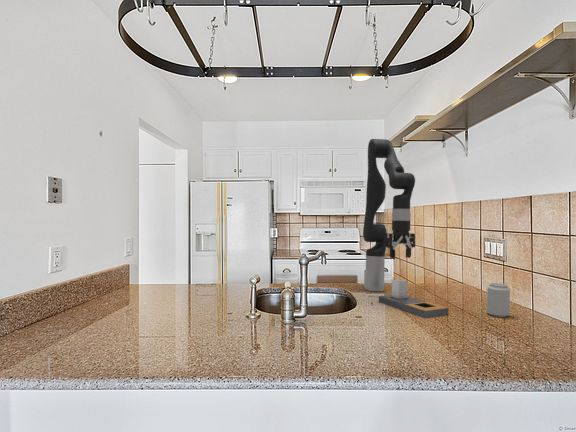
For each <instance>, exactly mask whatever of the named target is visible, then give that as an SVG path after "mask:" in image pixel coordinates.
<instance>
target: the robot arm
mask: <svg viewBox="0 0 576 432" xmlns="http://www.w3.org/2000/svg"><path fill="white" fill-rule="evenodd" d="M377 159H385V161H384V163H383V167H384V171H385V172H386V174H387V175H388V183H389V184H388V185H389V187H390V188H392V189H393V190H403V192H402V193H401V194H396V195H394V196H393V198H392V213H391V230H392V233H388V230H387V227H386V225H385V224H383V223H374V220H375V216H376V213H377V212H378V210H379V209H380V208H381V206H382V204H383V203H384V201H385V198H386V190H387V189H386V188H387V187H386V186H387V184H386V182H385V180H384V178H383V176H382V174H381V172H380V171H379V168H378V164H377ZM415 184H416V177H415V175H414V174H413V173H411V172H405V168H404V167H403V165H402V164H401V162H400V161H399V159H398V157H397V154H396V151H395V148H394V145H393V143H392V142H391V140H390V139H386V138H385V139H384V138H382V139H381V138H371V139H370V140H369V141H368V145H367V181H366V191H365V192H366V194H365V198H366V199H365V202H366V203H365V215H364V220H363V229H362V236H363V237H362V238H363V240H364V241H365V242H366V243H375V244H374V245H373V246H371V247H370V248H367V249H366V251H365V269H364V274H363V275H364V282H363V283H364V284H363V288H364V290H365V291H369V292H370V291H371V292H384V291H385V256H386V250H387V249H386V248H388V249H389V257H390V259H395V258H396V248H397V246H399V244H403V246H404V247H405V258H408V259H409V258H411V256H412V249H413V248H415V247H416V233H412V232H411V233H410V231H411V216H412V215H411V214H412V213H411V199H412V195H413V191H414V188H415Z"/></svg>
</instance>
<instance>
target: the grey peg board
mask: <svg viewBox="0 0 576 432" xmlns="http://www.w3.org/2000/svg"><path fill="white" fill-rule="evenodd" d="M378 302H379V303H381V304H383V305H386V306H389V307H392V308H394V309H395V308H396V309H399V310H401V311H403V312H406V313H407V312H408V313H411V314H413V315H416V316H418V317H422V318H425V319H426V318H427V319H428V318H433V317H434V318H435V317H440V316H441V317H442V316H446V315H447V316H448V315H449V307H448V306H444V305H441V304H438V303H434V302H430V301H425V300H422V299H418V298H416V297H411V296H408V295H407V299H406V300H397V299H393V298H392V294H389V295H388V294H387V295H386V294H385V295H379V296H378Z"/></svg>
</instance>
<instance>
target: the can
mask: <svg viewBox="0 0 576 432" xmlns="http://www.w3.org/2000/svg"><path fill="white" fill-rule="evenodd" d="M486 291H487V293H486V312H487V313H488V315H490V316H493V317H496V316H498V317H497V318H506V316H507V317H508V316H509V315H510V305H511V304H510V302H511V301H510V299H511V294H510V293H511V289H510V288H509V285H508V284H505V283H499V282H489V285H488V286H487V287H486Z"/></svg>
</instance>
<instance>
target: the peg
mask: <svg viewBox="0 0 576 432" xmlns="http://www.w3.org/2000/svg"><path fill="white" fill-rule="evenodd" d="M408 284H409V283H408V280H404V279H392V280H391V295H392V298H393V299H397V300H406V299H407V296H408V286H409V285H408Z"/></svg>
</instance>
